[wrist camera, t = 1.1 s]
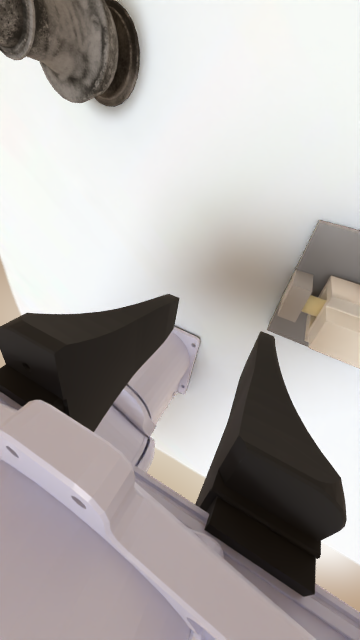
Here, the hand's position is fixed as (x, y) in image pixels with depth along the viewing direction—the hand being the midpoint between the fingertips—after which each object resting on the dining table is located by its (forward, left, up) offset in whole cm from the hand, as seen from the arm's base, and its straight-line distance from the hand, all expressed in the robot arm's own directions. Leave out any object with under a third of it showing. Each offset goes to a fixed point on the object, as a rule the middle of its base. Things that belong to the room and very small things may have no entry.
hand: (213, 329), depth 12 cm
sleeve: (0, -7, -8) cm, 11 cm away
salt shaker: (+11, +15, -10) cm, 21 cm away
